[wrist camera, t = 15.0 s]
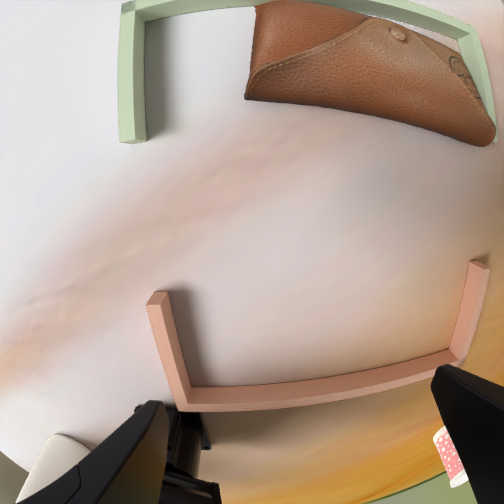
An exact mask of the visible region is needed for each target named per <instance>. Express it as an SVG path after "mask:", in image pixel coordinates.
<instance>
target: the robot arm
mask: <svg viewBox="0 0 504 504" xmlns="http://www.w3.org/2000/svg"><path fill="white" fill-rule="evenodd" d="M431 391H432V393H433V396H434V399H435V401H436V404H437V407H438V409H439V412H440V415H441V418H442V420H443V423H444V425H445V427H446V429H447V431H448V434H449V436H450V438H451V440H452V442H453V444H454V447H455V449H456V451H457V453H458V456H459V458H460V460H461V462H462V465H463V467H464V470H465V472H466V474H467V477H468V479H469V482H470V484H471V487H472V490H473V492H474V495H475V498H476V500H477V503H478V504H504V387H503V386H500V385H498V384H495V383H493V382H490V381H488V380H486V379H483V378H481V377H479V376H476V375H474V374H471V373H469V372H467V371H464V370H462V369H460V368H457V367H455V366H453V365H450V364H444V365H441V366H438V367H437V369H436V371H435V374H434V377H433V380H432V382H431ZM134 412H135V413H134V414H133V415H132V416H131V417H130V418H129V419H128V420H126V421H125V422H124V423H123V424H122V425H121V426H120V427H119V428H117V429H116V430H115V431H114V432H113V433H112V434H111V435H109V436H108V437H107V438H106V439H105V440H104V441H103V442H101V443H100V444H99V445H98V446H97V447H96V448H95V449H93V450H92V451H91V452H90V453H89V454H88V455H86V456H85V457H84V458H83V459H82V460H80V461H79V462H78V464H76V465H74V466H73V467H72V468H71V469H70V470H68V471H67V472H66V473H64V474H63V475H62V476H61V477H59V478H58V479H56V480H55V481H53V482H52V483H50V484H49V485H47V486H46V487H44V488H43V489H41V490H39V491H38V492H36V493H34V494H32V495H31V496H29V497H27V498H26V499H24V500H22V501H20V502H18V503H15V504H222V502H221V496H220V489H219V484H218V483H214V482H212V483H211V482H207V481H203V480H199V479H197V476H198V468H199V460H200V452H201V450H210V449H211V446H212V445H211V442H210V439H209V436H208V433H207V430H206V427H205V424H204V421H203V417H202V414H201V412H184V411H178V409H167V408H165V407H164V404H163V402H162V401H157V400H149V401H147V402H146V403H145V404H144V405H143V406H142V407H140V406H137V407H136V408H135V410H134Z"/></svg>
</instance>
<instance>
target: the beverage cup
mask: <svg viewBox="0 0 504 504" xmlns="http://www.w3.org/2000/svg"><path fill="white" fill-rule="evenodd" d="M433 441H434V443H435V445H436V448H437V450H438V452H439V454H440V457H441V459H442V461H443V464H444V466H445V469H446V471H447V473H448V476H449V478H450V484H451V488H454V487H456V486H459V485H461V484H462V483H464V482H466V481H467V480H469V479H468V477H467V474H466V472H465V470H464V467H463V465H462V462H461V460H460V458H459V456H458V453H457V451H456V449H455V447H454V444H453V442H452V440H451V438H450V436H449V434H448V431H447V429H446V427H445V426H444V427H442V428H441V429H440V430H439V431H438V432H437V433H436V434H435V436H434V437H433Z"/></svg>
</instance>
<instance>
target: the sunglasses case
mask: <svg viewBox="0 0 504 504" xmlns="http://www.w3.org/2000/svg"><path fill="white" fill-rule="evenodd" d="M255 9H256V10H255V12H256V14H257V15H256V20H255V27H254V36H253V45H252V53H251V62H250V63H251V64H250V75H249V79H248V83H247V86H246V92H245V94H244V99H245V100H254V101H264V102H276V103H290V104H299V105H310V106H319V107H324V108H332V109H338V110H344V111H349V112H354V113H360V114H366V115H372V116H376V117H380V118H385V119H390V120H394V121H399V122H402V123H406V124H409V125H413V126H416V127H420V128H424V129H427V130H430V131H434V132H437V133H440V134H442V135H445V136H449V137H451V138H454V139H456V140H459V141H461V142H465V143H468V144H471V145H474V146H478V147H484V146H487V145H489V144H490V143H491V142H492V141H493V140H494V138H495V136H496V126H495V124H494V122H493V121H492V119H491V118H490V116H489V115H488V114H487V112H486V109H485V107H484V104H483V101H482V99H481V97H480V94H479V92H478V90H477V87H476V85H475V83H474V81H473V78H472V76H471V74H470V72H469V70H468V69H467V67H466V65H465V63H464V61H463V58H462V56H461V55H460V54H459V53H458V52H456V51H454V50H452V49H451V48H449V47H447V46H445V45H443V44H441V43H439V42H438V41H435V40H433V39H431V38H429V37H426V36H424V35H422V34H419V33H417V32H415V31H412V30H409V29H407V28H405V27H403V26H401V25H399V24H396V23H393V22H391V21H388V20H385V19H382V18H377V17H372V16H368V15H365V14H361V13H357V12H354V11H350V10H347V9H342V8H338V7H334V6H329V5H324V4H318V3H313V2H307V1H300V0H273V1H270V2H266V3H263V4H260V5H257V6H255Z"/></svg>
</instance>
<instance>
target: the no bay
mask: <svg viewBox="0 0 504 504" xmlns="http://www.w3.org/2000/svg"><path fill="white" fill-rule="evenodd" d="M489 274H490V268H489V267H488V266H486V265H484V264H482V263H480V262H479V261H477V260H475V261H469V266H468V271H467V277H466V282H465V287H464V292H463V297H462V301H461V306H460V310H459V314H458V318H457V322H456V325H455V329H454V332H453V336H452V339H451V342H450V346H449V349H448V350H444V351H441V352H438V353H435V354H431V355H428V356H424V357H421V358H417V359H413V360H410V361H406V362H402V363H398V364H394V365H389V366H385V367H381V368H376V369H371V370H366V371H361V372H356V373H351V374H345V375H339V376H333V377H327V378H320V379H313V380H305V381H297V382H288V383H278V384H266V385H252V386H233V387H191V384H190V381H189V377H188V373H187V370H186V366H185V362H184V359H183V355H182V351H181V347H180V343H179V339H178V335H177V331H176V326H175V322H174V318H173V313H172V308H171V304H170V299H169V294H168V291H161V292H154V293H153V295H152V296H151V298H150V299H149V301H148V302H147V304H146V309H147V313H148V316H149V320H150V324H151V328H152V331H153V335H154V338H155V342H156V345H157V349H158V352H159V355H160V359H161V362H162V365H163V368H164V371H165V374H166V377H167V380H168V383H169V386H170V389H171V392H172V395H173V397H174V400H175V403H176V406H177V408H178V411H184V412H234V411H255V410H269V409H280V408H290V407H299V406H306V405H314V404H320V403H327V402H333V401H339V400H344V399H349V398H354V397H359V396H364V395H368V394H373V393H377V392H381V391H385V390H389V389H393V388H397V387H401V386H404V385H408V384H411V383H415V382H418V381H421V380H424V379H427V378H431V377H434V374H435V371H436V369H437V367H438V366H441V365H444V364H450V365H453V366H455V367H457V368H459V367H461V366H463V364H464V361H465V359H466V356H467V353H468V350H469V348H470V345H471V342H472V339H473V336H474V333H475V329H476V326H477V323H478V319H479V316H480V312H481V309H482V305H483V301H484V297H485V293H486V288H487V284H488V279H489Z"/></svg>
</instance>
